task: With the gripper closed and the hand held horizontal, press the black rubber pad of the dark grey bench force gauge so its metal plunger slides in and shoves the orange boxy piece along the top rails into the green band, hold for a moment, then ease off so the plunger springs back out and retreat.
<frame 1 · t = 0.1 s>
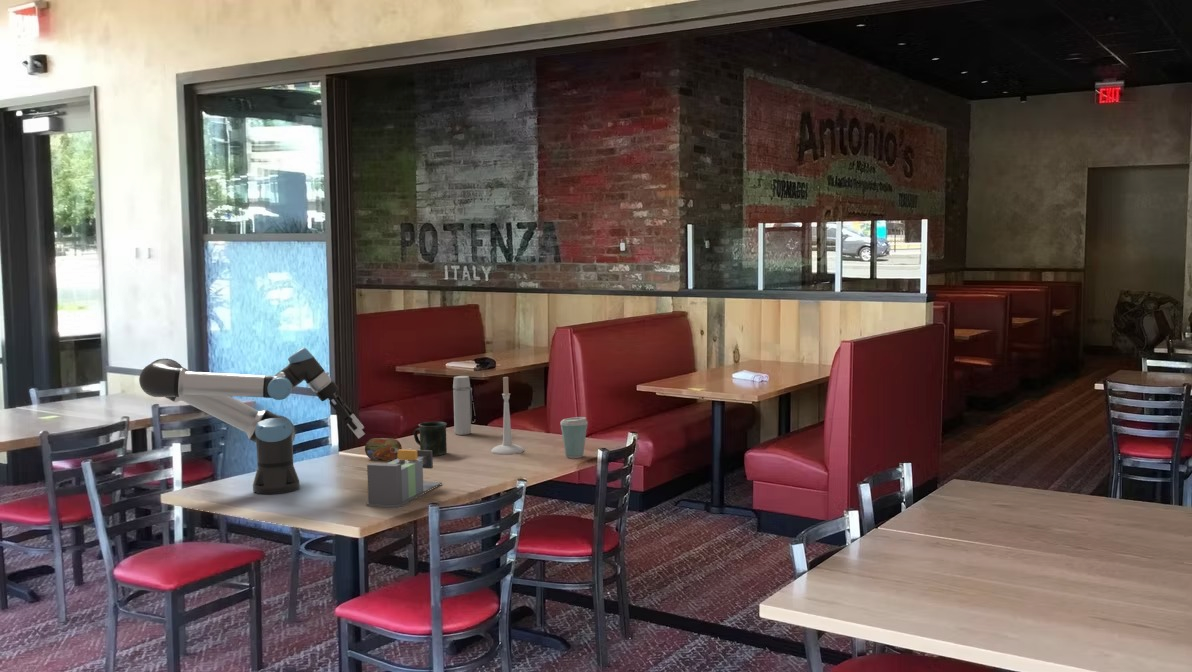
hand: (361, 433, 364), 15 cm above the table, tool tilted 35°, fingers open, 13 cm apart
disposable coffee cup: (574, 457, 391), on the table
gauge housing: (424, 485, 348), on the table
mug: (430, 454, 402), on the table
candlestick: (507, 451, 405), on the table
tin: (384, 460, 392), on the table
orange boxy piece: (407, 454, 336), point 13 cm above the table, slide at 0.0 cm
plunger: (413, 460, 340), point 10 cm above the table, slide at 0.0 cm
water bottle: (465, 434, 444), on the table
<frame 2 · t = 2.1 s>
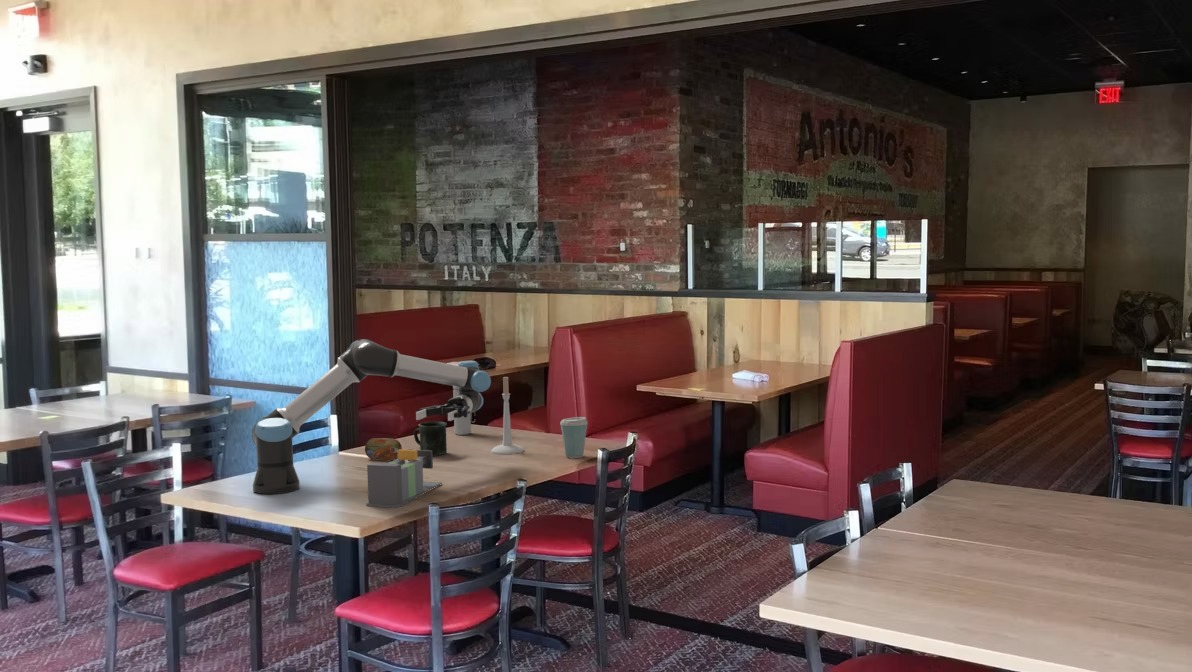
hand: (432, 416, 354), 22 cm above the table, tool horizontal, fingers open, 11 cm apart
nothing on the table moved.
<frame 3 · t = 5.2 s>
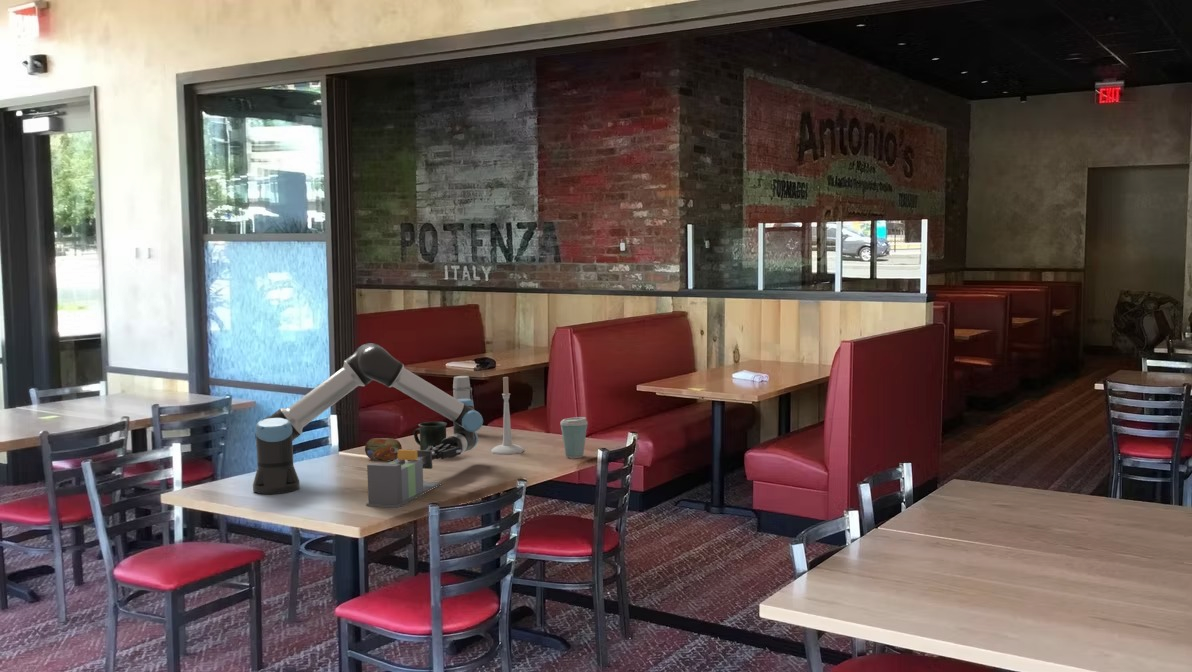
hand: (424, 459, 348), 9 cm above the table, tool horizontal, fingers closed
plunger: (412, 460, 339), point 10 cm above the table, slide at 0.4 cm, touching gripper
everything else where it was.
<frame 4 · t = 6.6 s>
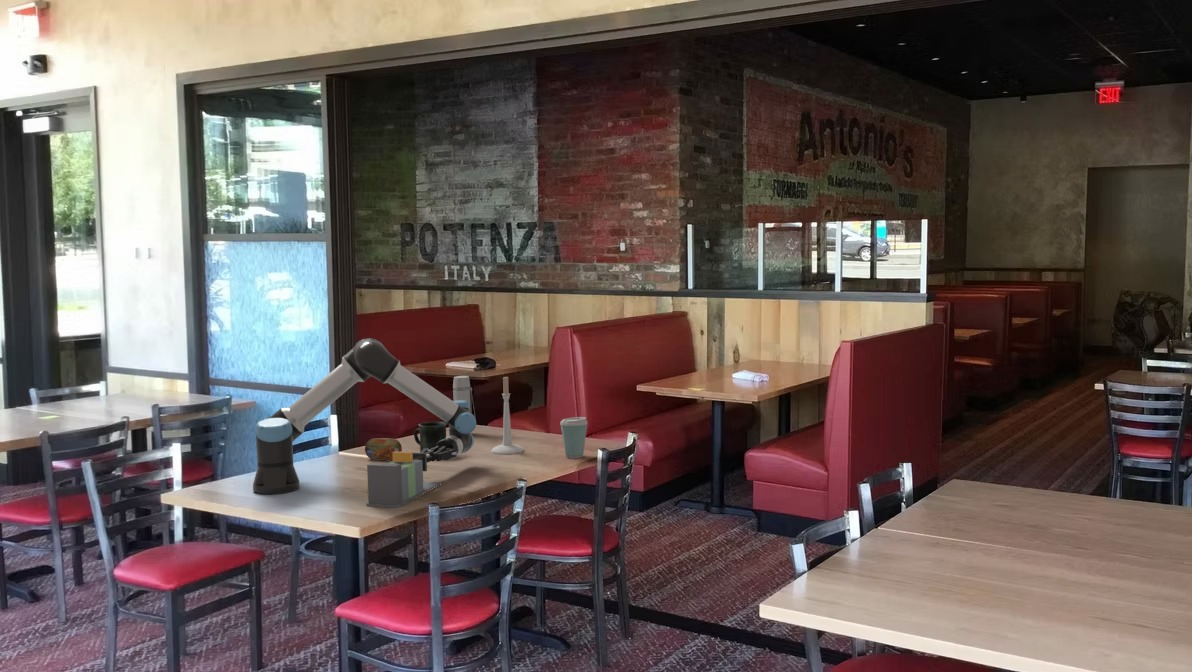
hand: (419, 461, 344), 9 cm above the table, tool horizontal, fingers closed
orange boxy piece: (402, 456, 333), point 13 cm above the table, slide at 3.5 cm, touching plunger
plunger: (406, 463, 335), point 10 cm above the table, slide at 4.5 cm, touching gripper, orange boxy piece
everything else where it was.
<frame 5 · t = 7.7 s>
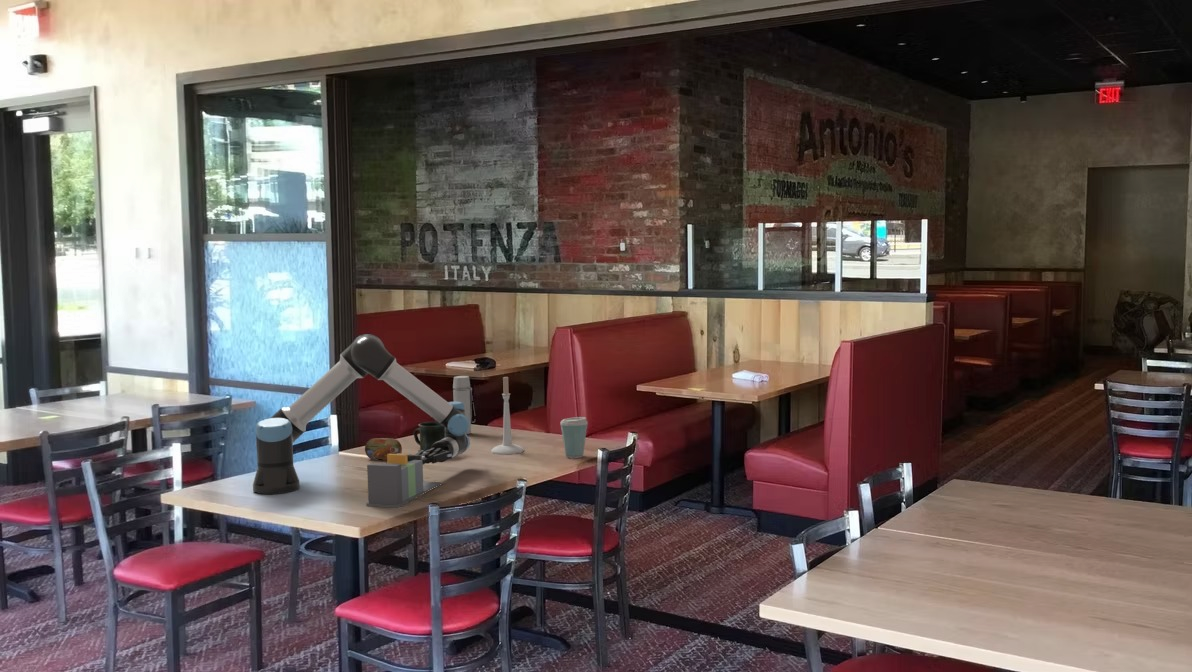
hand: (414, 463, 340), 9 cm above the table, tool horizontal, fingers closed
orange boxy piece: (397, 459, 329), point 13 cm above the table, slide at 7.1 cm, touching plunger
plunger: (401, 465, 332), point 10 cm above the table, slide at 8.2 cm, touching gripper, orange boxy piece
everything else where it was.
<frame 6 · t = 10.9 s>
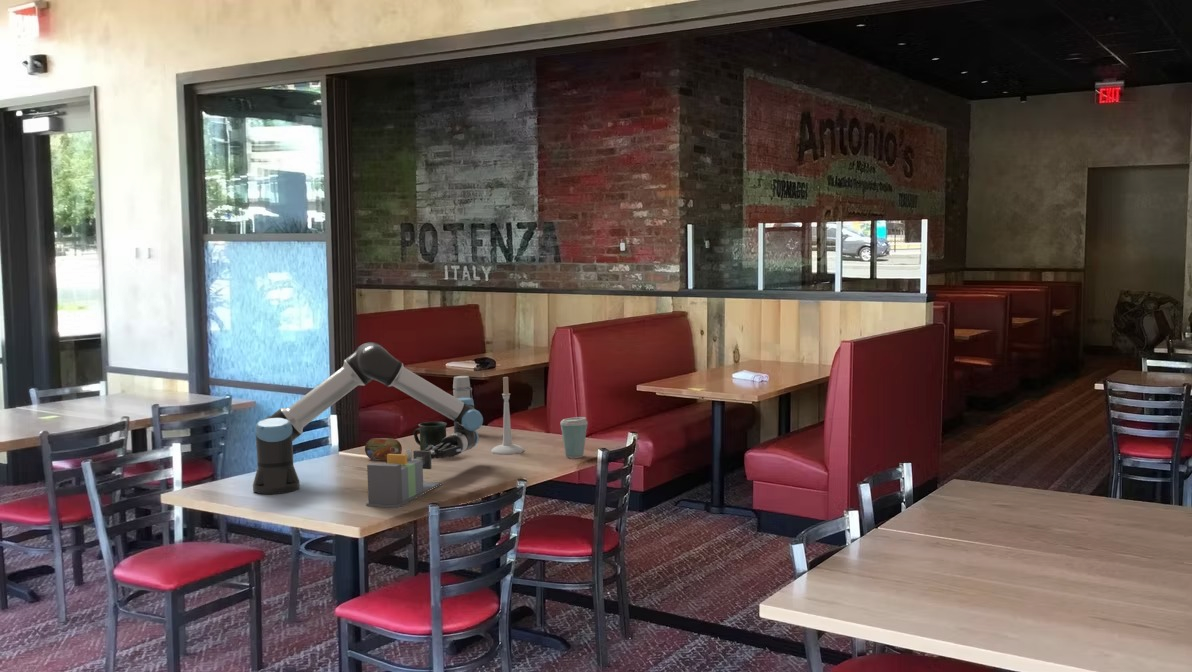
hand: (424, 458, 347), 9 cm above the table, tool horizontal, fingers closed
orange boxy piece: (397, 459, 329), point 13 cm above the table, slide at 7.3 cm
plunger: (411, 461, 339), point 10 cm above the table, slide at 1.0 cm
everything else where it was.
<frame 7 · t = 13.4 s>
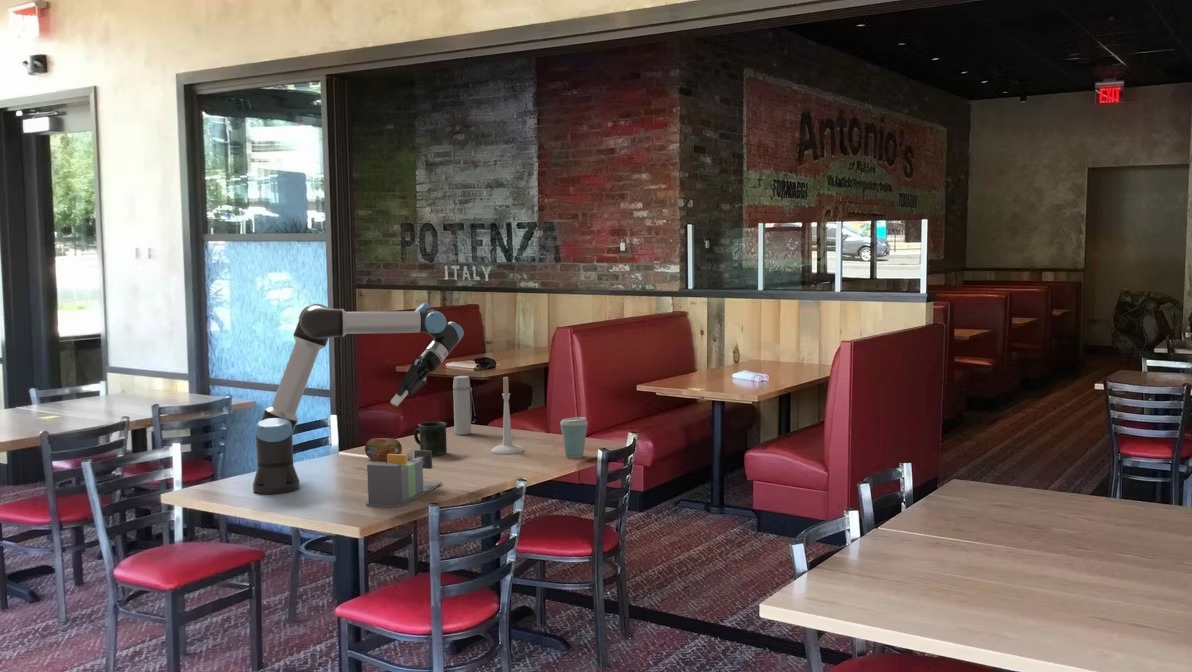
hand: (393, 403, 355), 27 cm above the table, tool tilted 50°, fingers closed
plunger: (412, 460, 339), point 10 cm above the table, slide at 0.4 cm
everything else where it was.
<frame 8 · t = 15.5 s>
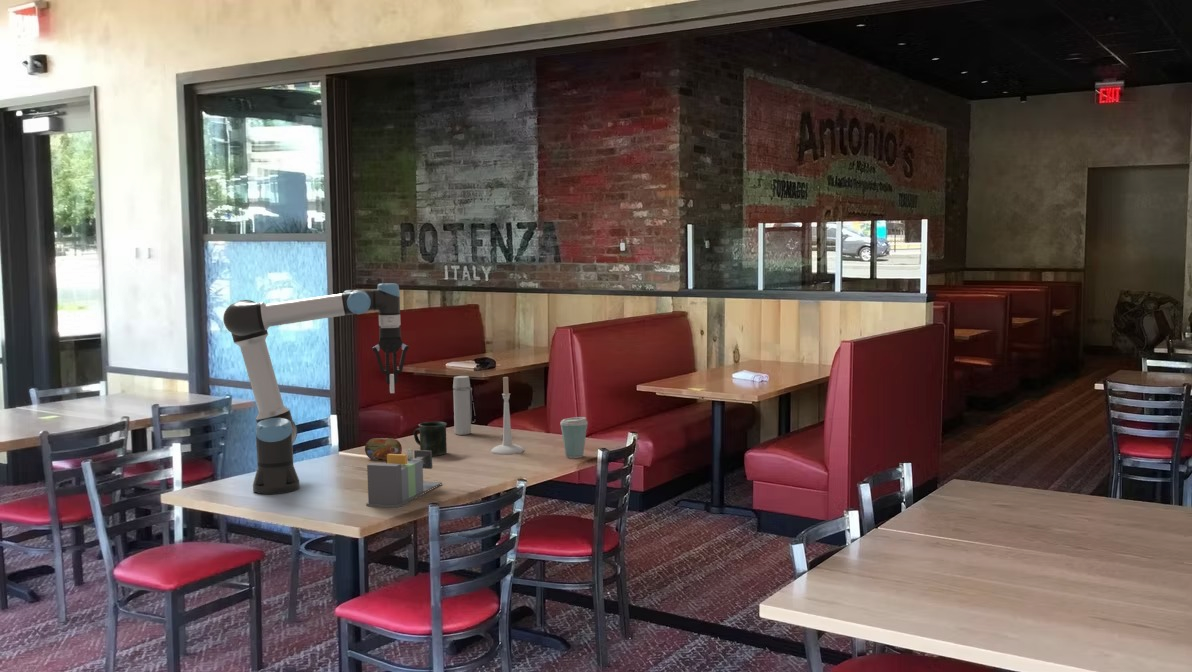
hand: (392, 392, 364), 29 cm above the table, tool pointing down, fingers closed
nothing on the table moved.
at the end: orange boxy piece slide at 7.3 cm; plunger slide at 0.4 cm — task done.
